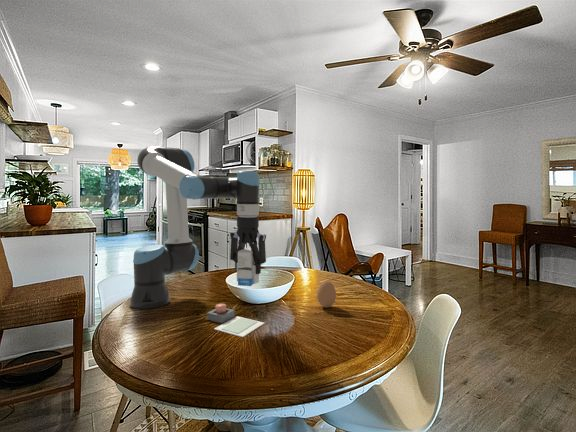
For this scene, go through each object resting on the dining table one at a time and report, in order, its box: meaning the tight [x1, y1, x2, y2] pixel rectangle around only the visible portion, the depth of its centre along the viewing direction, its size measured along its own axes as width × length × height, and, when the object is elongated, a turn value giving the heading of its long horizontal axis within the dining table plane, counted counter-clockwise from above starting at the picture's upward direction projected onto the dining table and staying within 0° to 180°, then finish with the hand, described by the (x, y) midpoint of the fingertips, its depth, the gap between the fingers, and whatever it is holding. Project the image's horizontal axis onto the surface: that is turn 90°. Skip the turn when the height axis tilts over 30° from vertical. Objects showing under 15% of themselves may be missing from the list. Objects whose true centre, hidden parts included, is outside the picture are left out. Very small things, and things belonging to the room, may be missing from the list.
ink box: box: [237, 247, 255, 287], centre depth 116 cm, size 9×5×12 cm, turn 170°
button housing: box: [206, 307, 236, 324], centre depth 120 cm, size 7×7×2 cm
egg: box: [316, 280, 337, 309], centre depth 132 cm, size 8×8×11 cm
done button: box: [215, 303, 227, 314], centre depth 120 cm, size 4×4×2 cm
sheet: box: [213, 315, 266, 338], centre depth 113 cm, size 12×13×1 cm
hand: (247, 281), depth 116 cm, fingers closed on ink box, 6 cm apart
